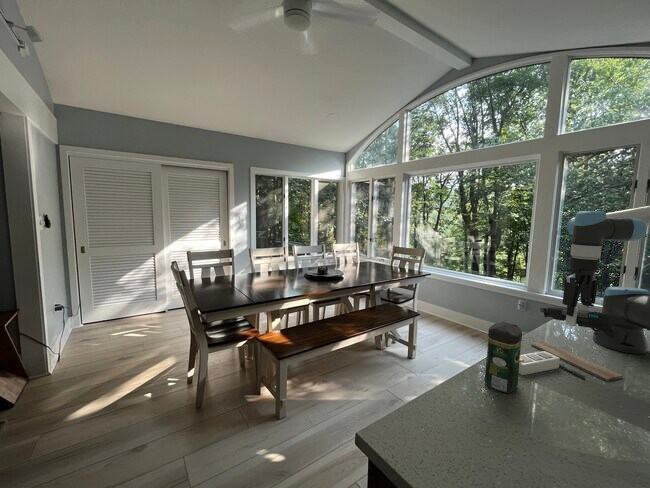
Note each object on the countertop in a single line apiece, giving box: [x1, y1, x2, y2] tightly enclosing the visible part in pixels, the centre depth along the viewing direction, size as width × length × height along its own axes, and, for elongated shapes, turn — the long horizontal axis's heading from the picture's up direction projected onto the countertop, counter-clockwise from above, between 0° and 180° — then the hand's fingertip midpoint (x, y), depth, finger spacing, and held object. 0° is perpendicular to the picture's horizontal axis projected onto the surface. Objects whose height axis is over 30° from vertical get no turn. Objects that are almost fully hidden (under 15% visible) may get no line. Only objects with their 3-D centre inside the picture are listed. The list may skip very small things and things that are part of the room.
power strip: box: [518, 350, 586, 380], centre depth 92 cm, size 18×12×4 cm, turn 107°
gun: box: [539, 306, 618, 338], centre depth 99 cm, size 4×20×10 cm, turn 24°
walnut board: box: [531, 341, 623, 382], centre depth 101 cm, size 7×24×1 cm, turn 17°
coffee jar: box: [483, 321, 523, 394], centre depth 85 cm, size 10×8×19 cm
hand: (576, 323), depth 99 cm, fingers closed on gun, 5 cm apart
